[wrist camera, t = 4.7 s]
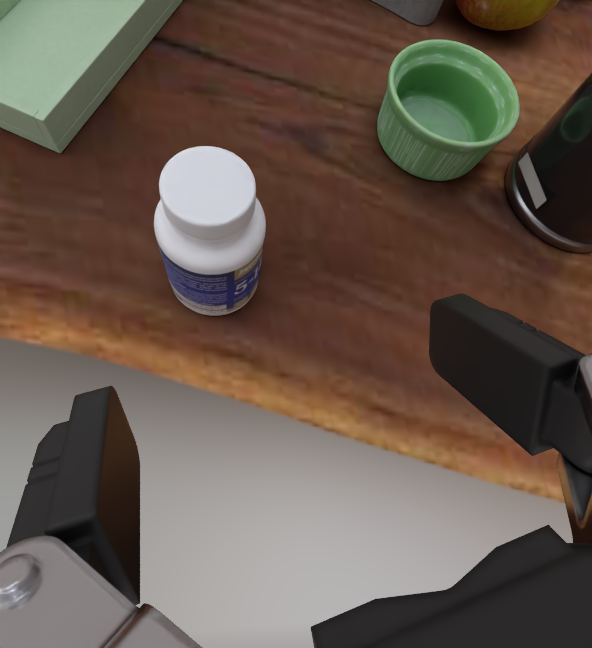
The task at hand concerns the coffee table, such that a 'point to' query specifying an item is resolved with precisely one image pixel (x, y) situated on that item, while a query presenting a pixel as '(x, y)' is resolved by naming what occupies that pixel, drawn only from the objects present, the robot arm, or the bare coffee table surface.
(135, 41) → the tray
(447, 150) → the ramekin
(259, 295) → the coffee table surface
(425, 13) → the hip flask
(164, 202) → the pill bottle
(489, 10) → the fruit
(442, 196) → the coffee table surface
